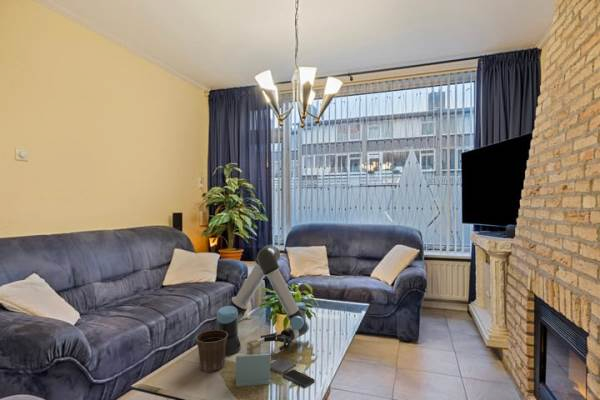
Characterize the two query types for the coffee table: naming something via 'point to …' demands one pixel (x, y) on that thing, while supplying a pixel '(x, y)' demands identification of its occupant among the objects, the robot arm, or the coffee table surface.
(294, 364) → the charcoal mat
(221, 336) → the plant pot
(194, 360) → the coffee table surface
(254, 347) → the tall tan block
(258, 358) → the standing board
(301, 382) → the phone
